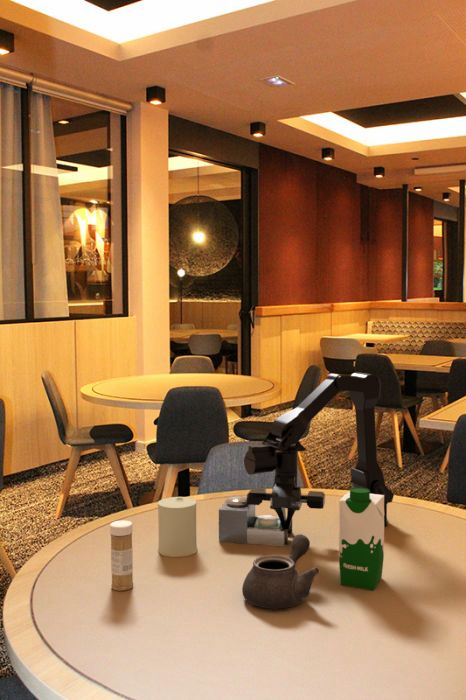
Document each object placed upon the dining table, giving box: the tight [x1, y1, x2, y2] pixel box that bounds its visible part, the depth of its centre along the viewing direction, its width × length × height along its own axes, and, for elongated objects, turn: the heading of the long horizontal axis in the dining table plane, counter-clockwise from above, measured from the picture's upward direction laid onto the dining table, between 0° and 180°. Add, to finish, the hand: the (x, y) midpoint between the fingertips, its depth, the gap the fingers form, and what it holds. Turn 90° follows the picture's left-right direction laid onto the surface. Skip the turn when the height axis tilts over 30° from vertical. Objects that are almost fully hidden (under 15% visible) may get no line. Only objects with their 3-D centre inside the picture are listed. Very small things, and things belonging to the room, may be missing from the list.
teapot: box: [241, 534, 321, 609], centre depth 142 cm, size 19×15×10 cm
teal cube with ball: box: [254, 514, 281, 530], centre depth 176 cm, size 6×6×5 cm
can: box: [157, 496, 198, 558], centre depth 167 cm, size 9×9×12 cm
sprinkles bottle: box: [109, 520, 134, 592], centre depth 146 cm, size 5×5×13 cm
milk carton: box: [338, 487, 385, 591], centre depth 148 cm, size 9×9×20 cm
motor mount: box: [218, 496, 293, 547], centre depth 176 cm, size 17×11×9 cm, turn 78°
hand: (286, 532), depth 175 cm, fingers closed
